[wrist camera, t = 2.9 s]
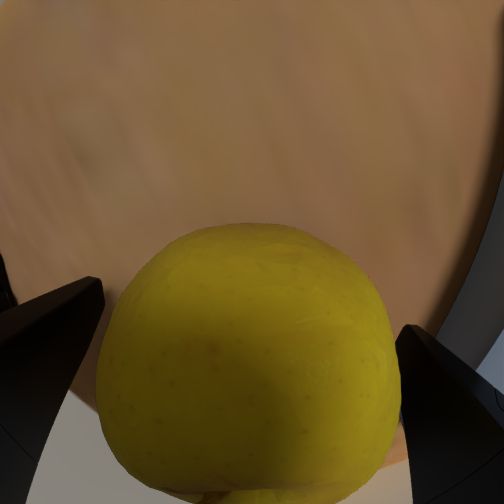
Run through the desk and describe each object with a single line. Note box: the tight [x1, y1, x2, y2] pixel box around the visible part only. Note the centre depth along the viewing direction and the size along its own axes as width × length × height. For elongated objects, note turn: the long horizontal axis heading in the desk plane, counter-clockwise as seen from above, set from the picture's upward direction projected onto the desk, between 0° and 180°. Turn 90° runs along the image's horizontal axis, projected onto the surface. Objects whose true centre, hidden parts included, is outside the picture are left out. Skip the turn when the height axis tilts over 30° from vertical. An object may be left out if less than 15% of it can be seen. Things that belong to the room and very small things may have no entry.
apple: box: [95, 223, 401, 504], centre depth 6 cm, size 6×6×8 cm
